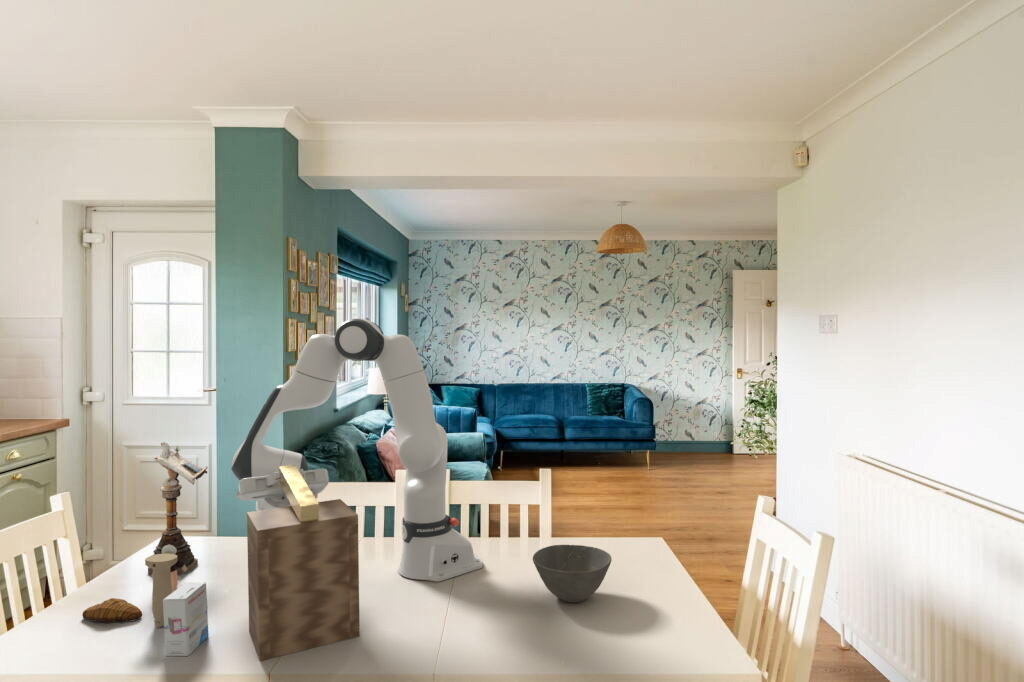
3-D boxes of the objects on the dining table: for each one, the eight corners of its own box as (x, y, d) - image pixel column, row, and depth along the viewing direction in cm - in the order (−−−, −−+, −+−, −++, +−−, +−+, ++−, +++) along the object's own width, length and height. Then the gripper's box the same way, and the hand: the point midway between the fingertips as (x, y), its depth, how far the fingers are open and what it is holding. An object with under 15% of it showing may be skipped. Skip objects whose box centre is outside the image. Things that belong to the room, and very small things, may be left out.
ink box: (186, 635, 139) (184, 580, 138) (209, 636, 139) (208, 581, 138) (163, 656, 130) (162, 598, 130) (188, 656, 130) (186, 598, 130)
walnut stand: (341, 610, 150) (340, 498, 150) (359, 636, 138) (358, 514, 137) (249, 631, 140) (246, 512, 140) (259, 661, 128) (257, 530, 127)
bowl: (620, 589, 162) (620, 549, 161) (597, 621, 145) (597, 576, 144) (550, 576, 170) (550, 538, 169) (520, 606, 152) (520, 563, 152)
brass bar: (294, 478, 153) (294, 464, 153) (318, 520, 134) (318, 503, 133) (278, 481, 151) (278, 466, 151) (300, 523, 132) (300, 506, 131)
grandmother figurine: (154, 603, 155) (153, 550, 154) (150, 598, 158) (149, 546, 157) (189, 594, 160) (188, 543, 159) (185, 589, 163) (183, 539, 162)
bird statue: (223, 557, 185) (221, 434, 183) (207, 575, 172) (204, 443, 170) (161, 559, 183) (158, 435, 181) (140, 578, 170) (137, 444, 168)
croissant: (72, 626, 144) (71, 604, 144) (94, 612, 151) (93, 591, 151) (130, 628, 143) (130, 605, 143) (150, 614, 150) (149, 592, 150)
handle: (169, 630, 141) (167, 562, 140) (142, 629, 142) (140, 561, 141) (183, 620, 146) (181, 554, 145) (157, 618, 147) (155, 553, 146)
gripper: (233, 485, 156) (239, 466, 146) (319, 474, 167) (331, 455, 156) (235, 511, 154) (241, 493, 143) (323, 498, 164) (335, 481, 153)
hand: (289, 473), depth 150 cm, fingers closed on brass bar, 4 cm apart
